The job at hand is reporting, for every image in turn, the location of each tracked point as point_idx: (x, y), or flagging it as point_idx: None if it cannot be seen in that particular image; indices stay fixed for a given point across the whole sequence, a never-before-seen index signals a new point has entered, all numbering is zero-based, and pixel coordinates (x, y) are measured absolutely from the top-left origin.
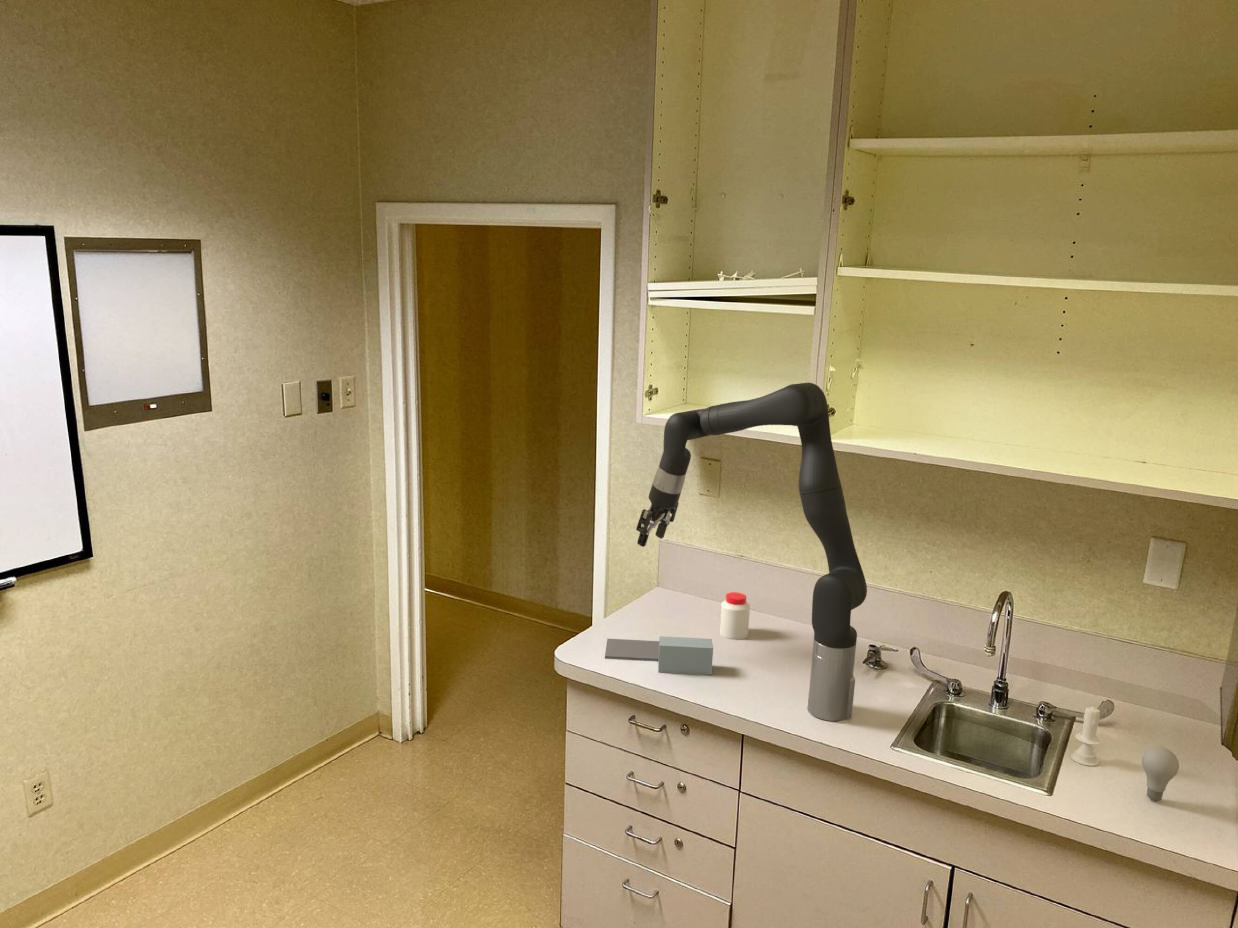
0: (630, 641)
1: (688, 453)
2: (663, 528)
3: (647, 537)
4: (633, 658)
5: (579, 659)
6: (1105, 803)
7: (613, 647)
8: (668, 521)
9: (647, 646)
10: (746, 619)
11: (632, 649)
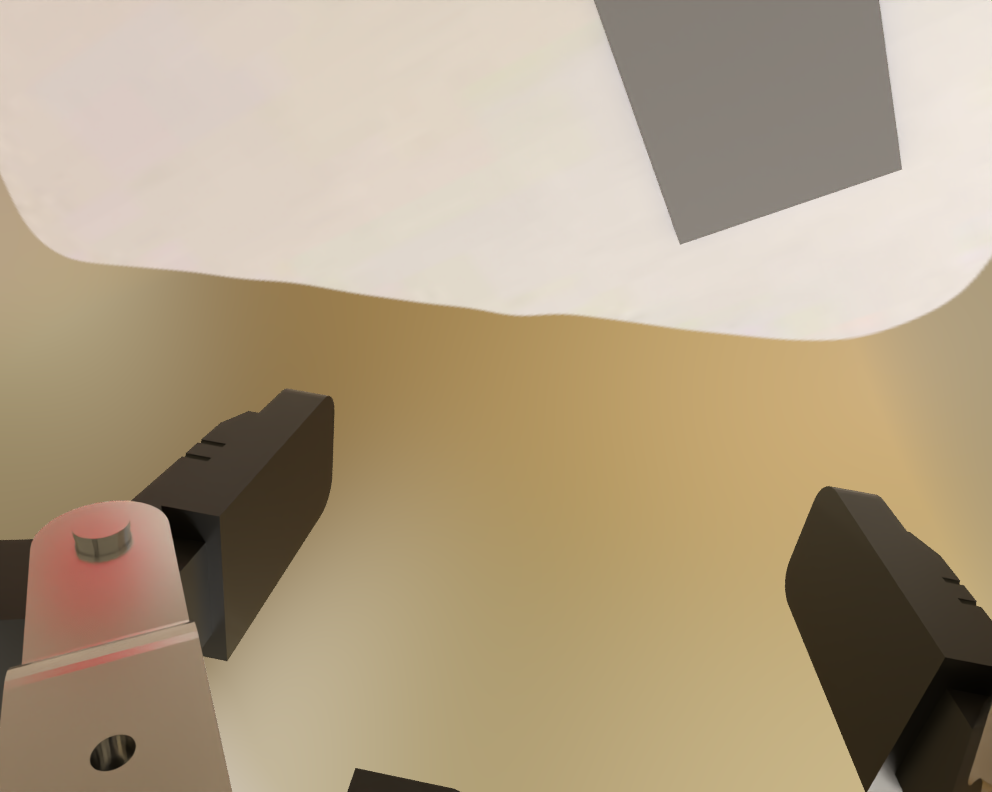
0: (667, 133)
1: None
2: (249, 514)
3: (934, 604)
4: (880, 16)
5: (943, 260)
6: None
7: (776, 176)
8: (84, 599)
9: (692, 17)
10: None
11: (765, 77)
